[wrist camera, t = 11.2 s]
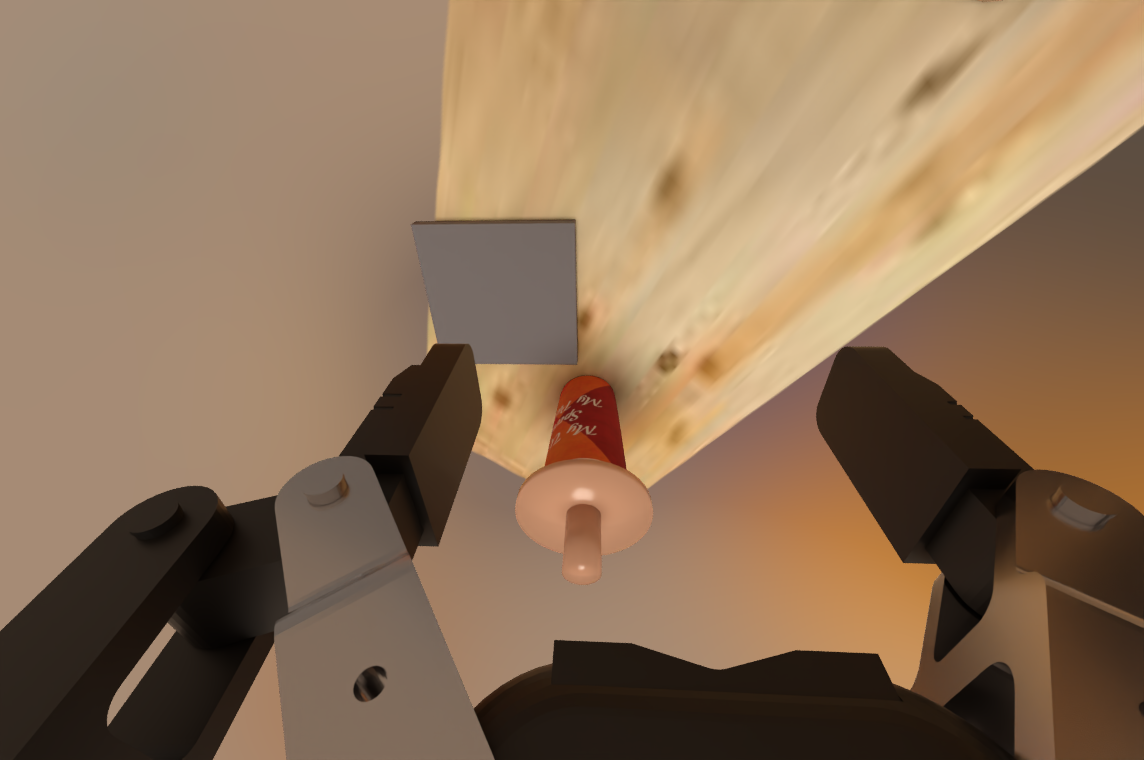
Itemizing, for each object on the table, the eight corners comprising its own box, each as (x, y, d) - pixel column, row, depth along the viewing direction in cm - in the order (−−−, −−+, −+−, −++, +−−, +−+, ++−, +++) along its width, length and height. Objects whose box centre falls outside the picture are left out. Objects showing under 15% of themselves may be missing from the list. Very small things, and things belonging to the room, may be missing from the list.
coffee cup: (583, 352, 44) (577, 455, 32) (641, 394, 47) (656, 505, 35) (534, 401, 48) (513, 510, 36) (591, 438, 51) (588, 551, 39)
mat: (575, 220, 37) (574, 223, 36) (577, 359, 45) (577, 364, 44) (415, 221, 38) (411, 224, 37) (445, 358, 46) (442, 363, 45)
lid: (657, 459, 32) (667, 525, 27) (647, 549, 38) (654, 616, 33) (509, 457, 33) (494, 522, 28) (523, 547, 39) (513, 612, 34)
